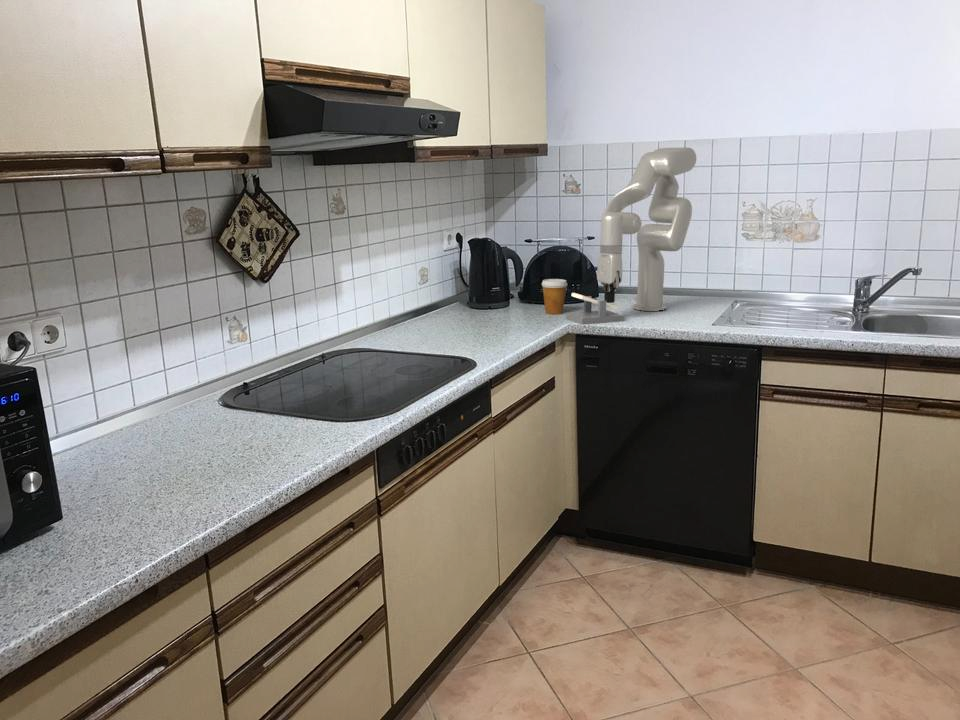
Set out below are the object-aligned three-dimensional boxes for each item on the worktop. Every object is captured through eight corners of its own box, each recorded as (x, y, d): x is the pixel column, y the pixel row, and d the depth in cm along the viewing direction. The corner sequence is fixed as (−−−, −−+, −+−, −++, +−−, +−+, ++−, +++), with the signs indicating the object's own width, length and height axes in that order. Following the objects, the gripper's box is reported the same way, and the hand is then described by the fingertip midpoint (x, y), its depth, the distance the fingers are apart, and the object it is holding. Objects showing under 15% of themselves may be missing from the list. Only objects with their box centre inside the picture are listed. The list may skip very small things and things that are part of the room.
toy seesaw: (566, 318, 277) (566, 297, 275) (606, 315, 282) (606, 294, 281) (582, 324, 266) (582, 302, 264) (623, 321, 272) (624, 299, 270)
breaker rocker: (570, 295, 274) (572, 292, 273) (606, 306, 280) (607, 302, 279) (582, 299, 266) (583, 295, 266) (618, 310, 272) (619, 306, 272)
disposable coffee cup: (571, 312, 290) (572, 279, 287) (559, 316, 282) (560, 282, 279) (548, 309, 295) (548, 278, 292) (536, 313, 287) (536, 281, 284)
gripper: (591, 248, 276) (589, 300, 280) (612, 252, 262) (610, 306, 267) (609, 247, 279) (607, 298, 283) (631, 251, 265) (629, 305, 269)
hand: (609, 302), depth 275 cm, fingers closed
